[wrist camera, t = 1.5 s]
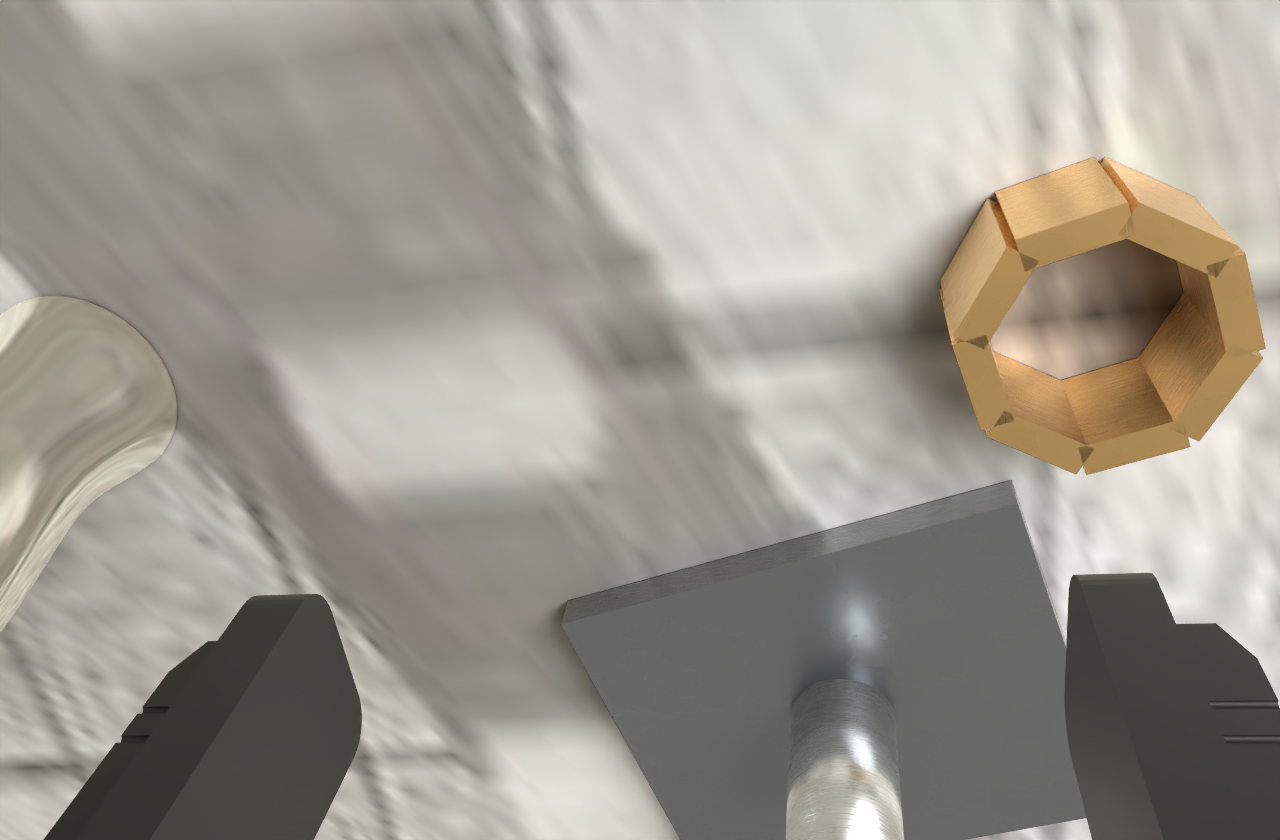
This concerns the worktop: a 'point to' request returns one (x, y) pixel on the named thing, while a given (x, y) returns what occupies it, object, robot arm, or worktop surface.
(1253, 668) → the robot arm
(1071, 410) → the collar
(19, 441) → the beer glass
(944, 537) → the grey square base
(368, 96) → the worktop surface
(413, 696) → the worktop surface
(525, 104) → the worktop surface
